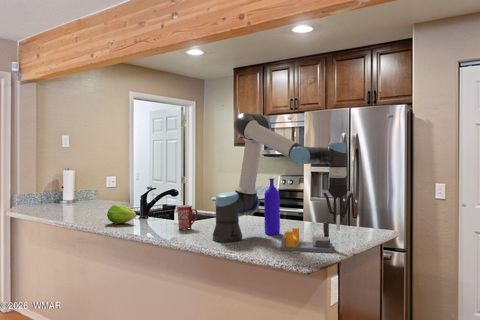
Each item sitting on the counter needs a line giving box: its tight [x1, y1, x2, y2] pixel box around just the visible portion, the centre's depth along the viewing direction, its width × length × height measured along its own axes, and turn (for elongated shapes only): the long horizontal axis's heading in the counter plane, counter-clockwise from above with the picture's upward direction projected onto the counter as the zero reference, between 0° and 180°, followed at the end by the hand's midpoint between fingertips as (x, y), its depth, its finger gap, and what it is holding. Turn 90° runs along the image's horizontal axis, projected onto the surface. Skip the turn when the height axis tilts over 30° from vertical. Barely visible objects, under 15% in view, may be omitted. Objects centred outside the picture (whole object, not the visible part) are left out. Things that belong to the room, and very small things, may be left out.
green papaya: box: [106, 204, 137, 225], centre depth 249 cm, size 14×20×12 cm
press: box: [280, 233, 333, 254], centre depth 177 cm, size 22×13×6 cm, turn 76°
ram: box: [311, 221, 330, 246], centre depth 176 cm, size 7×5×10 cm, turn 76°
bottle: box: [263, 177, 281, 236], centre depth 211 cm, size 8×8×30 cm
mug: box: [176, 204, 199, 230], centre depth 228 cm, size 13×9×14 cm
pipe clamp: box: [284, 227, 300, 247], centre depth 179 cm, size 12×4×6 cm, turn 153°
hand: (338, 229), depth 174 cm, fingers closed
